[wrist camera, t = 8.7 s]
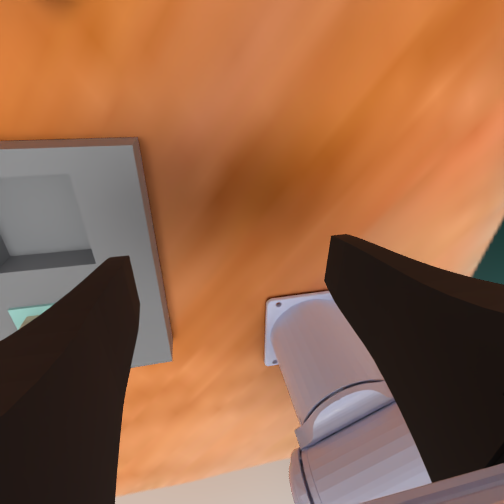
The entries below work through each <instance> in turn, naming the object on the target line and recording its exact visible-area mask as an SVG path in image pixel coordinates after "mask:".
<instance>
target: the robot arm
mask: <svg viewBox="0 0 504 504" xmlns="http://www.w3.org/2000/svg"><path fill="white" fill-rule="evenodd" d="M324 281H325V283H326V285H327V288H328V290H329V291H323V292H316V293H308V294H301V295H293V296H286V297H278V298H271V299H269V300H268V301H267V302H266V319H265V346H264V363H265V365H266V366H272V365H278V364H279V366H280V369H281V372H282V375H283V378H284V381H285V383H286V386H287V389H288V392H289V395H290V397H291V400H292V403H293V406H294V409H295V412H296V414H297V417H298V420H299V423H300V427H299V428H297V429H295V434H296V437H297V440H298V443H299V446H300V447H299V448H297V449H294V450H293V452H292V454H291V462H290V466H289V479H290V486H291V491H292V495H293V499H294V503H295V504H504V285H502V284H498V283H493V282H489V281H484V280H480V279H476V278H472V277H468V276H464V275H460V274H457V273H453V272H450V271H446V270H443V269H440V268H437V267H433V266H430V265H428V264H425V263H422V262H419V261H416V260H413V259H411V258H408V257H406V256H403V255H400V254H398V253H395V252H393V251H390V250H388V249H385V248H383V247H380V246H378V245H375V244H373V243H370V242H368V241H365V240H363V239H360V238H357V237H354V236H351V235H347V234H344V235H334V236H331V240H330V247H329V254H328V260H327V267H326V273H325V280H324ZM278 302H280V303H279V304H276V303H278ZM139 318H140V300H139V296H138V292H137V287H136V283H135V279H134V274H133V270H132V266H131V261H130V257H129V255H128V256H117V257H109V258H108V259H107V260H105V261H104V262H103V263H102V264H101V265H100V266H98V267H97V268H96V269H95V270H94V271H93V272H92V273H91V274H89V275H88V276H87V277H86V278H85V279H84V280H83V281H82V282H80V283H79V284H78V285H77V286H76V287H75V288H73V289H72V290H71V291H70V292H69V293H67V294H66V295H65V296H64V297H62V298H61V299H60V300H59V301H57V302H56V303H55V304H54V305H52V306H51V307H50V308H48V309H47V310H46V311H45V312H43V313H42V314H41V315H39V316H38V317H36V318H35V319H33V320H32V321H31V322H29V323H28V324H26V325H25V326H23V327H22V328H20V329H19V330H17V331H16V332H14V333H13V334H11V335H9V336H8V337H6V338H5V339H3V340H1V341H0V504H115V492H116V478H117V466H118V454H119V443H120V432H121V423H122V413H123V404H124V398H125V392H126V387H127V382H128V378H129V373H130V368H131V364H132V359H133V354H134V350H135V345H136V340H137V335H138V330H139Z"/></svg>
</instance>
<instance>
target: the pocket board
mask: <svg viewBox="0 0 504 504" xmlns="http://www.w3.org/2000/svg"><path fill="white" fill-rule="evenodd" d="M128 255H129V257H130V261H131V266H132V270H133V274H134V279H135V283H136V287H137V292H138V296H139V300H140V318H139V330H138V335H137V340H136V345H135V350H134V354H133V359H132V364H131V368H133V367H139V366H145V365H151V364H157V363H164V362H170V361H172V346H173V337H172V331H171V325H170V319H169V314H168V308H167V302H166V296H165V291H164V285H163V279H162V273H161V268H160V262H159V256H158V250H157V245H156V239H155V233H154V227H153V222H152V216H151V210H150V204H149V199H148V193H147V187H146V181H145V176H144V170H143V164H142V158H141V153H140V147H139V141H138V137H125V138H90V139H54V140H19V141H0V341H1V340H3V339H5V338H6V337H8V336H9V335H11V334H13V333H14V332H16V331H17V330H19V328H20V326H21V325H22V323H23V322H24V320H25V319H26V317H27V316H35V315H41V314H42V313H43V312H45V311H46V310H47V309H48V308H50V307H51V306H52V305H54V304H55V303H56V302H57V301H59V300H60V299H61V298H62V297H64V296H65V295H66V294H67V293H69V292H70V291H71V290H72V289H73V288H75V287H76V286H77V285H78V284H79V283H80V282H82V281H83V280H84V279H85V278H86V277H87V276H88V275H89V274H91V273H92V272H93V271H94V270H95V269H96V268H97V267H98V266H100V265H101V264H102V263H103V262H104V261H105V260H107V259H108V258H109V257H117V256H128Z"/></svg>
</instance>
